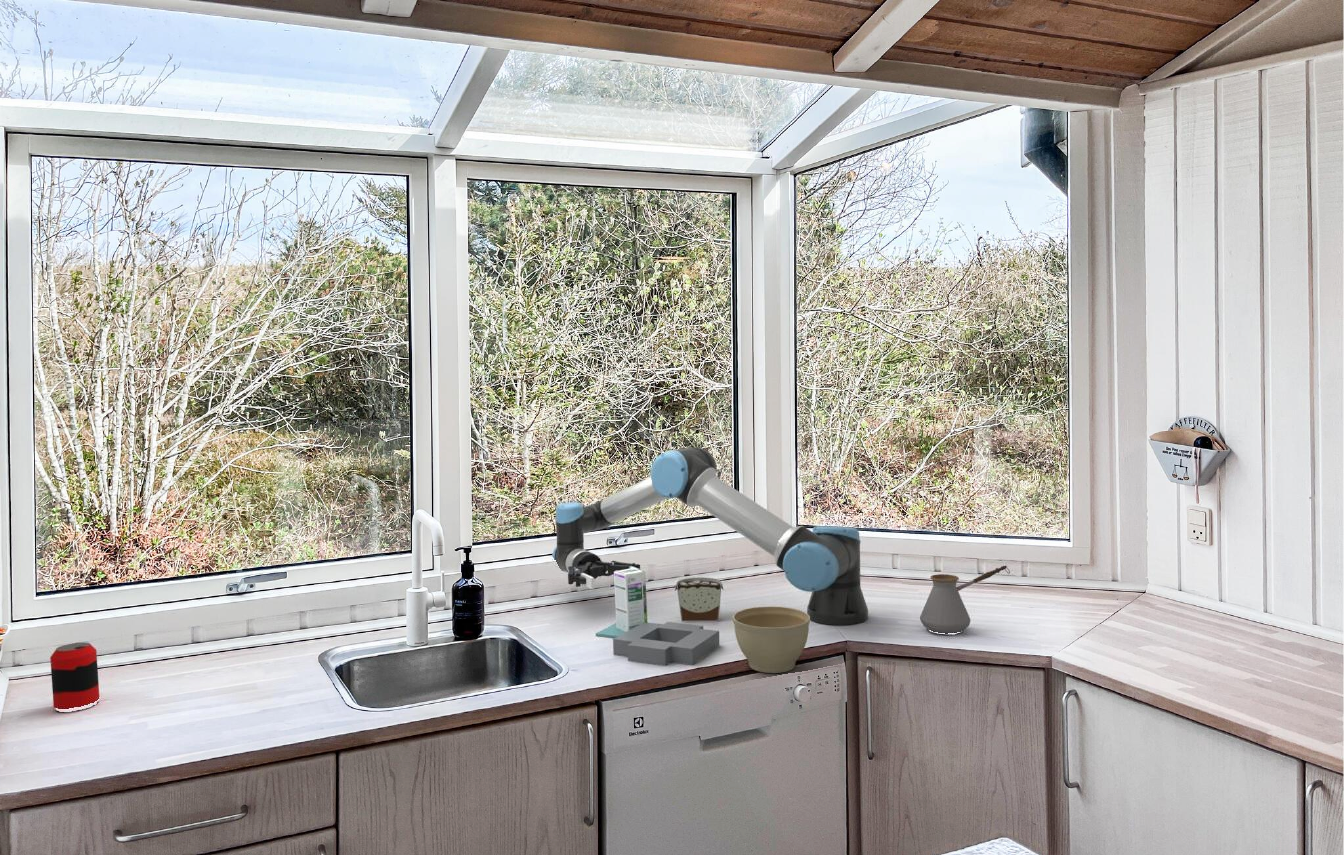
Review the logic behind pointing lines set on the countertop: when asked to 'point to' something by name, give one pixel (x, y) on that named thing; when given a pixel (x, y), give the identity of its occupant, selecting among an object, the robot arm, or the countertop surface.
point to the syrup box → (630, 598)
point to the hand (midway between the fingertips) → (617, 579)
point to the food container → (699, 599)
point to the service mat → (611, 631)
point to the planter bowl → (771, 637)
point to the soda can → (74, 675)
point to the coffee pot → (948, 604)
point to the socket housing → (666, 643)
